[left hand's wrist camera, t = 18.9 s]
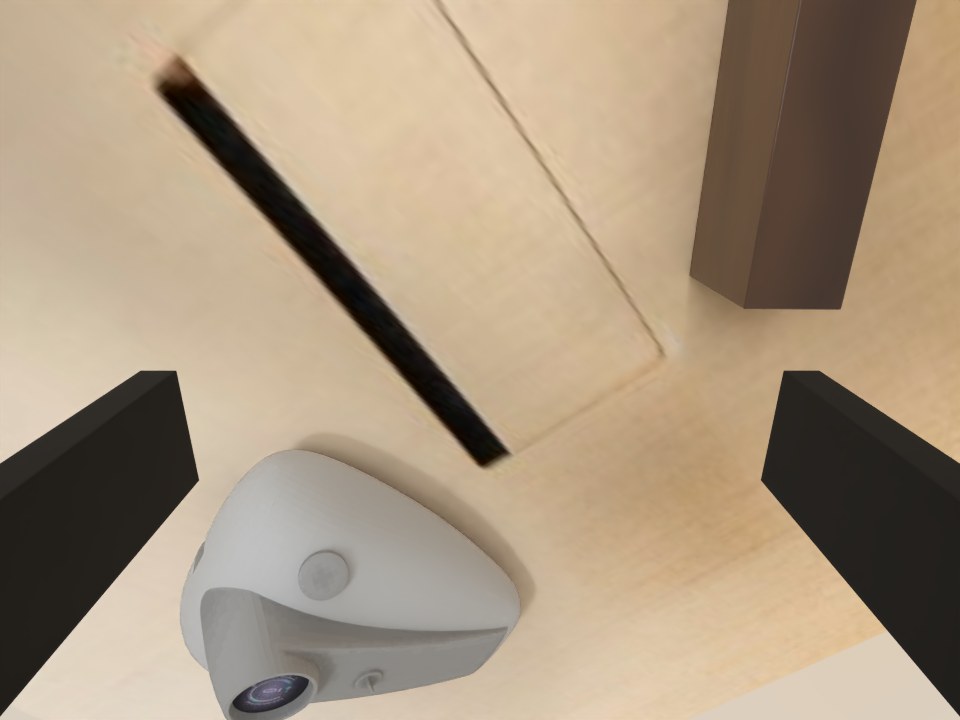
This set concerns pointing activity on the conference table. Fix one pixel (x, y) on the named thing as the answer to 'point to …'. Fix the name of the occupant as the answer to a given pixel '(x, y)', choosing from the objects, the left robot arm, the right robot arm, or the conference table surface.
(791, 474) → the left robot arm
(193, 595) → the projector
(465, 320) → the conference table surface
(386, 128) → the conference table surface
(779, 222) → the beam
